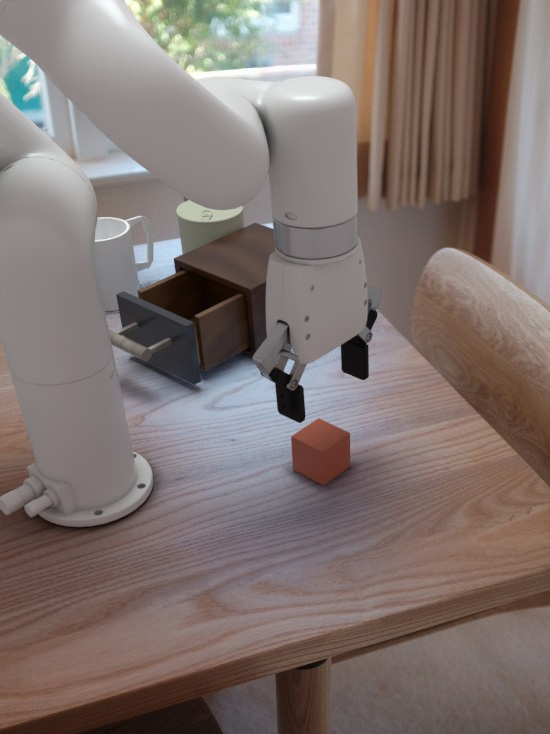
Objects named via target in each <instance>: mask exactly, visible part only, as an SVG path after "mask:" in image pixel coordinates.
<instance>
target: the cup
mask: <svg viewBox="0 0 550 734" xmlns="http://www.w3.org/2000/svg"><path fill="white" fill-rule="evenodd" d="M140 222H141V225H142V228H143V231H144V234H145V237H146V260H145V261H138V262H136V256H135V249H134V245H133V243H134V242H133V238H132V234H131V233H132V232H131V228H132V227H134V226H135V225H136V224H138V223H140ZM93 258H94V269H95V275H96V280H97V285H98V289H99V293H100V297H101V300H102V304H103V307H104V311H105V312H115V311H119V308H118V302H117V297H116V294H118V293H120V292H123V291H124V292H127V293H129V294H131V295H133V296H136V297H138V292H137V291H138V290H140V289H141V285H140V280H139V275H138V273H139V272H141V271H144V270H147V269H149V268H150V267H151V266H152V263H153V262H154V236H153V233H152V229H151V226H150V224H149V220H148V217H146V216H143V215H137V216H133V217H131V218H128V219H122V218H119V217H112V216H101V217H100V216H97V224H96V230H95V241H94V248H93Z"/></svg>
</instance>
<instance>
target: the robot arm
mask: <svg viewBox="0 0 550 734" xmlns="http://www.w3.org/2000/svg"><path fill="white" fill-rule="evenodd" d="M0 37H1V38H3V39H5V40H6V41H7V42H9V43H10V44H11V45H12V46H13V47H15V48H16V49H17V50H19V51H20V52H21V53H22V54H24V55H25V56H26V57H28V59H30V60H31V61H32V62H33V63H34V64H35V65H36V66H37V67H38V68H39V69H40V70H41V71H42V72H43V74H44V75H45V76H46V78H48V79H49V81H50V82H51V83H52V84H53V85H54V86H55V87H56V88H57V89H58V90H59V91H60V92H61V94H63V95H64V97H66V98H67V99H68V100H69V101H70V102H71V103H72V104H73V105H74V106H75V107H76V108H77V109H78V110H79V111H80V112H81V114H82V115H84V116H85V117H86V118H87V120H89V121H90V122H91V124H92V125H93V126H94V127H95V128H97V129H98V130H99V132H101V133H102V135H104V136H105V137H106V138H107V139H108V140H109V141H110V142H112V144H114V145H115V146H116V147H117V148H118V149H120V150H121V151H122V152H123V153H124V154H125V155H127V156H128V157H129V158H131V159H132V161H135V162H136V163H137V164H139V165H140V166H141V167H142V168H144V169H145V170H146V171H147V172H149V173H151V174H152V175H153V176H155V177H156V179H158V180H160V181H161V182H162V183H164V184H165V185H166V186H168V187H169V188H171V189H172V190H173V191H175V192H176V193H177V194H179V195H181V197H182V198H184V197H185V198H187V199H188V200H190V201H192V202H194V203H196V204H198V205H201V206H203V207H206V208H210V209H215V210H230V209H235V208H238V207H241V206H243V207H244V206H245V205H246V204H248V203H250V202H251V201H252V200H253V199H255V197H256V196H258V194H259V193H260V192H261V190H262V188H263V187H264V186H265V183H266V180H267V178H269V179H268V180H269V190H270V191H269V192H270V201H271V202H270V203H271V217H272V229H273V231H274V243H275V252H273V253H272V254H271V255H270V257H269V263H268V270H267V279H266V331H267V338H266V339H265V341H264V342H263V343H262V344H261V346H260V347H259V348H258V350H257V351H256V352H255V354H254V355H253V359H252V362H253V364H254V365H255V366H256V368H257V369H258V371H259V372H260V376H262V377H264V378H266V380H269V381H270V382H272V383H274V385H275V397H276V408H277V412H278V414H279V415H281V416H283V417H285V418H288V419H290V420H292V421H294V422H296V423H298V424H301V423H303V422H304V421H305V420H306V403H305V402H306V401H305V389H304V386H303V385H301V384H300V381H301V379H302V377H303V374H304V372H305V369H306V368H307V365H308V364H311V363H314V362H315V361H317V360H319V359H320V358H322V357H324V356H325V355H327V354H329V353H330V352H332V351H335V349H337V348H339V347H340V363H341V364H340V365H341V371H342V373H344V374H347V375H349V376H352V377H354V378H356V379H359V380H361V381H365V380H367V379H368V378H369V377H370V376H369V375H370V370H369V369H370V368H369V367H370V365H369V363H370V362H369V361H370V360H369V358H370V357H369V343H370V342H372V339H373V331H372V329H373V327H374V325H375V323H376V322H377V319H378V315H379V314H378V311H377V310H378V309H379V306H380V302H381V299H382V295H383V290H382V289H380V288H377V287H374V286H372V285H368V281H367V280H368V279H367V272H366V263H365V256H364V250H363V247H362V241H361V238H360V236H359V211H360V209H359V202H358V201H359V194H358V193H359V189H358V188H359V187H358V186H359V185H358V145H357V143H358V142H357V141H358V139H357V106H356V105H357V104H356V98H355V95H354V93H353V90H352V89H351V88H350V86H349V85H348V84H346V83H345V82H344V81H343V80H340V79H337V78H334V77H329V76H323V75H306V76H296V77H290V78H286V79H283V80H281V81H276V80H275V81H272V80H271V81H270V80H257V79H247V78H238V77H228V76H227V77H226V76H225V77H224V76H211V77H210V76H209V77H205V78H200V79H198V80H196V78H194V76H192V75H191V74H190V73H188V72H187V71H186V70H185V69H184V68H183V67H181V65H180V64H179V63H177V62H176V60H174V59H173V58H172V57H171V56H170V55H169V53H167V52H166V50H164V48H162V47H161V46H160V45H159V44H158V43H157V41H156V40H155V39H154V38H153V37H152V36H151V35H150V33H148V31H147V30H146V29H145V28H144V27H143V25H142V24H141V23H140V22H139V20H138V19H137V18H136V16H135V15H134V13H133V12H132V10H131V8H130V7H129V6H128V4H127V2H126V1H125V0H0ZM98 210H99V209H98V200H97V195H96V191H95V190H94V186H93V184H92V182H91V181H90V179H89V177H88V176H87V175H86V173H85V172H84V170H83V169H82V168H81V167H80V166H79V165H78V164H77V162H76V161H75V160H73V158H72V157H71V156H70V155H68V153H67V152H66V151H65V150H64V149H62V147H60V146H59V145H58V144H57V143H56V142H55V141H54V140H52V138H50V137H49V135H47V134H46V133H45V131H43V130H42V129H41V128H40V127H38V125H37V124H36V123H34V122H33V121H32V120H31V119H30V118H29V117H28V116H27V115H26V114H25V113H24V112H23V111H21V110H20V109H19V107H17V106H16V105H15V104H14V103H13V102H12V101H11V100H9V99H8V98H7V97H6V96H5V95H4V94H3V93H2V92H1V91H0V342H1V346H2V349H3V353H4V357H5V359H6V363H7V367H8V370H9V372H10V376H11V380H12V383H13V386H14V390H15V394H16V397H17V401H18V405H19V408H20V410H21V415H22V418H23V422H24V426H25V429H26V432H27V436H28V440H29V443H30V447H31V450H32V453H33V457H34V462H33V463H30V464H29V465H27V466H26V470H27V472H28V476H29V477H27V478H25V479H23V481H22V485H20V486H18V487H17V488H15V489H12V490H9V491H8V492H6V493H5V494H4V493H3V494H2V495H1V496H0V511H2V513H3V514H5V515H6V516H9V515H11V514H13V513H14V512H16V511H18V510H20V509H22V508H23V509H24V512H25V513H26V515H27V516H29V517H30V518H33V517H35V516H37V515H38V516H39V517H40V518H42V519H44V520H46V521H47V522H50V523H52V524H55V525H58V526H64V527H70V528H71V527H73V528H84V527H85V528H86V527H94V526H100V525H105V524H109V523H111V522H114V521H117V520H119V519H121V518H123V517H126V516H127V515H130V514H131V513H133V512H134V511H135V510H137V509H138V508H139V507H140V506H141V505H143V504H144V503H145V502H146V500H147V499H148V498H149V496H150V495H151V492H152V489H153V487H154V482H155V481H154V474H153V470H152V466H151V465H150V463H149V462H148V460H147V459H146V458H145V457H144V456H142V455H141V454H140V453H138V452H136V451H134V450H133V446H132V441H131V440H132V439H131V435H130V430H129V426H128V420H127V415H126V410H125V405H124V400H123V399H124V398H123V394H122V389H121V384H120V379H119V374H118V369H117V363H116V358H115V353H114V350H113V345H112V344H111V339H110V333H109V330H110V329H109V325H108V320H107V315H106V311H104V307H103V304H102V300H101V297H100V293H99V289H98V285H97V280H96V275H95V269H94V258H93V248H94V241H95V230H96V224H97V218H98V213H99V211H98ZM291 351H293V352H291ZM289 360H291V361H293V365H292V366H291V369H290V372H289V373H287V372H285V369H286V366H287V364H288V362H289Z"/></svg>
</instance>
